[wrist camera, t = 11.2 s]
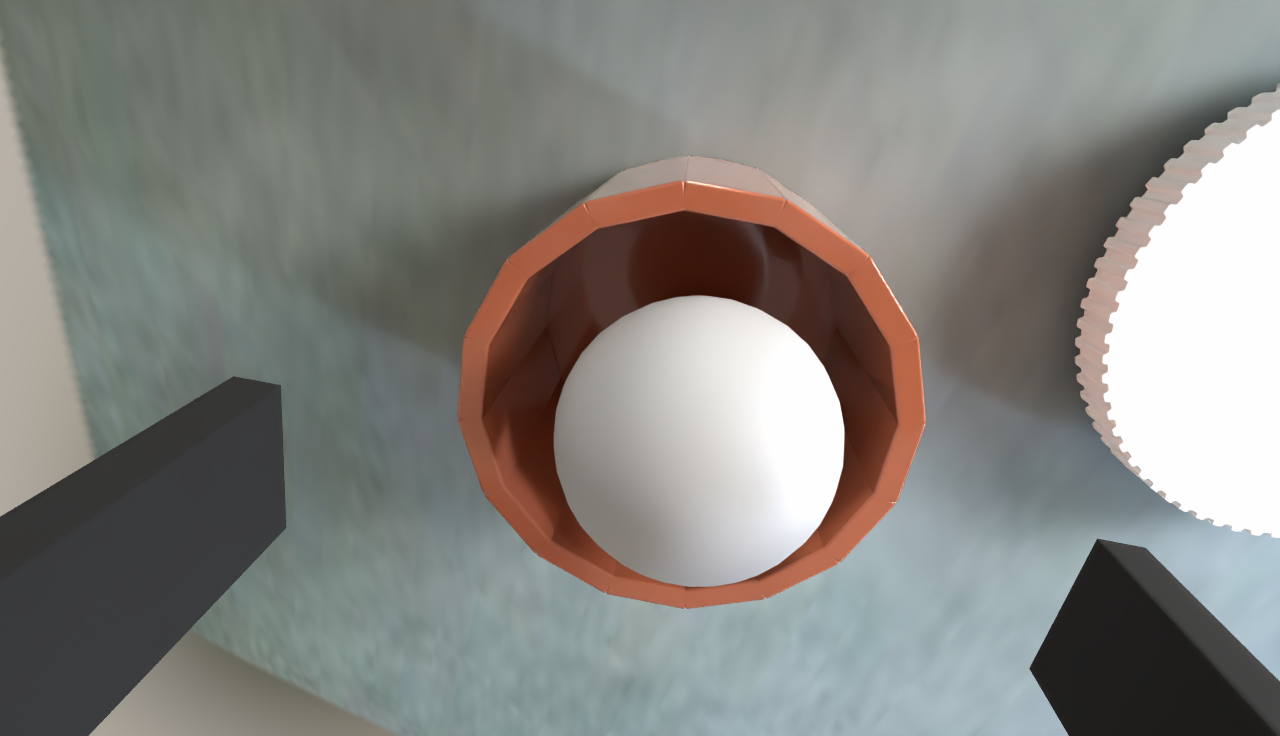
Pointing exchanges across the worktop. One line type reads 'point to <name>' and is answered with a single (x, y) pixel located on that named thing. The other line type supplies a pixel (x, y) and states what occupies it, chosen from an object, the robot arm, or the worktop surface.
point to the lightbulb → (699, 441)
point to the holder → (675, 267)
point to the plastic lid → (1196, 327)
